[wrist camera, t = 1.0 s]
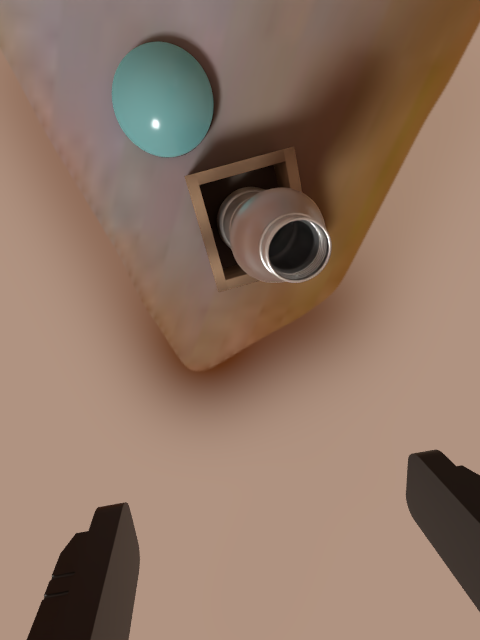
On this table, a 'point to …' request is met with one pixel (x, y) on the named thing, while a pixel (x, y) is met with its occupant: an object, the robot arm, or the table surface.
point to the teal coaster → (162, 99)
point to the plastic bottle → (275, 234)
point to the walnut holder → (280, 159)
